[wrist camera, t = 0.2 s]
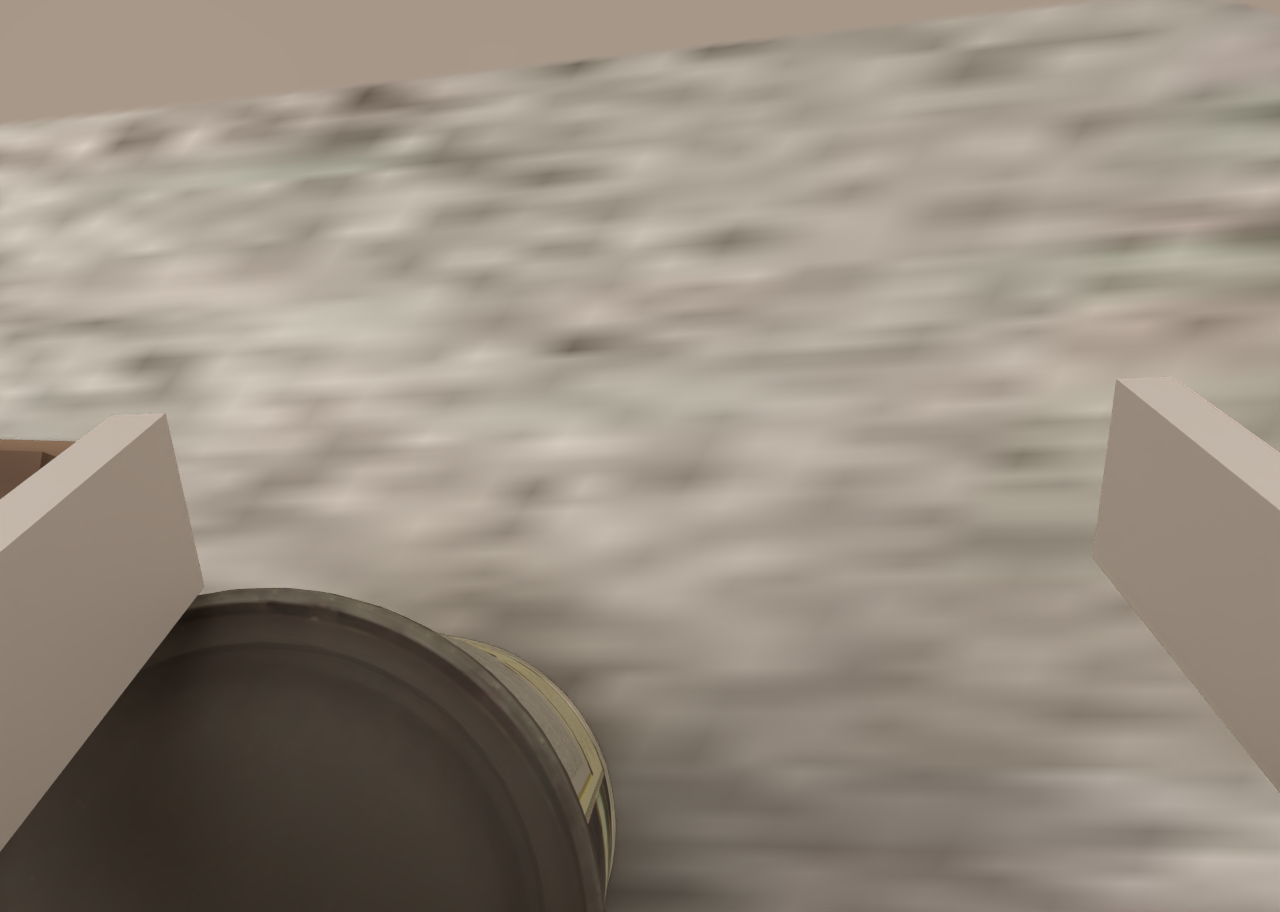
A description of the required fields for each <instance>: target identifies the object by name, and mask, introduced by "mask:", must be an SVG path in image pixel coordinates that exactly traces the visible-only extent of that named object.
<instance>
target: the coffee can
mask: <svg viewBox="0 0 1280 912" xmlns="http://www.w3.org/2000/svg"><path fill="white" fill-rule="evenodd" d="M615 833H616V818H615V808H614V799H613V793H612V787H611V782H610V778H609V774H608V768H607V765H606V762H605V760H604V757H603V754H602V752H601V749H600V747H599V745H598V743H597V741H596V739H595V737H594V735H593V733H592V731H591V730H590V728H589V726H588V724H587V723H586V721H585V719H584V718H583V716H582V715H581V714H580V712H579V711H578V709H577V708H576V707H575V706H574V704H573V703H572V702H571V701H570V700H569V698H568V697H567V696H566V695H565V694H564V692H563V691H562V690H560V689H559V688H558V687H557V686H556V685H555V684H554V683H553V682H552V681H551V680H550V679H549V678H547V677H546V676H545V675H544V674H542V673H541V672H540V671H539V670H537V669H536V668H534V667H533V666H531V665H530V664H528V663H527V662H525V661H524V660H522V659H521V658H519V657H517V656H516V655H514V654H512V653H509V652H507V651H505V650H503V649H500V648H497V647H494V646H491V645H488V644H485V643H482V642H478V641H474V640H470V639H465V638H459V637H450V636H447V635H444V634H440V633H436V632H434V631H432V630H431V629H429V628H427V627H425V626H423V625H421V624H419V623H417V622H415V621H412V620H410V619H408V618H406V617H404V616H402V615H399V614H397V613H395V612H392V611H390V610H388V609H385V608H382V607H380V606H376V605H372V604H369V603H365V602H362V601H358V600H355V599H351V598H347V597H344V596H340V595H336V594H331V593H325V592H319V591H310V590H301V589H292V588H255V589H236V590H227V591H222V592H216V593H210V594H203V595H198V596H197V597H196V598H195V599H194V601H193V602H192V603H191V605H190V606H189V607H188V608H187V610H186V611H185V612H184V614H183V615H182V616H181V618H180V619H179V620H178V621H177V623H176V624H175V625H174V627H173V628H172V629H171V630H170V632H169V633H168V634H167V636H166V637H165V638H164V640H163V641H162V642H161V643H160V645H159V646H158V647H157V649H156V650H155V651H154V653H153V654H152V655H151V656H150V658H149V659H148V660H147V662H146V663H145V664H144V666H143V667H142V668H141V669H140V671H139V672H138V673H137V675H136V676H135V677H134V679H133V680H132V681H131V682H130V684H129V685H128V686H127V688H126V689H125V690H124V692H123V693H122V694H121V695H120V697H119V698H118V699H117V701H116V702H115V703H114V705H113V706H112V707H111V708H110V710H109V711H108V712H107V714H106V715H105V716H104V718H103V719H102V720H101V721H100V723H99V724H98V725H97V727H96V728H95V729H94V730H93V732H92V733H91V734H90V736H89V737H88V738H87V740H86V741H85V742H84V743H83V745H82V746H81V747H80V749H79V750H78V751H77V753H76V754H75V755H74V756H73V758H72V759H71V760H70V762H69V763H68V764H67V766H66V767H65V768H64V769H63V771H62V772H61V773H60V775H59V776H58V777H57V779H56V780H55V781H54V782H53V784H52V785H51V786H50V788H49V789H48V790H47V792H46V793H45V794H44V795H43V797H42V798H41V799H40V801H39V802H38V803H37V805H36V806H35V807H34V808H33V810H32V811H31V812H30V814H29V815H28V816H27V818H26V819H25V820H24V821H23V823H22V824H21V825H20V827H19V828H18V829H17V830H16V832H15V833H14V834H13V836H12V837H11V838H10V840H9V841H8V842H7V843H6V845H5V846H4V847H3V849H2V850H1V851H0V912H605V907H604V905H605V898H606V891H607V886H608V882H609V878H610V874H611V870H612V865H613V856H614V849H615Z"/></svg>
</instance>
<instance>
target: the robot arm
mask: <svg viewBox="0 0 1280 912" xmlns="http://www.w3.org/2000/svg"><path fill="white" fill-rule="evenodd" d="M1093 559H1094V561H1095V562H1096V563H1097V564H1098V566H1099V567H1100V568H1101V569H1102V571H1103V572H1104V573H1105V575H1106V576H1107V577H1108V578H1109V580H1110V581H1111V582H1112V583H1113V585H1114V586H1115V587H1116V588H1117V590H1118V591H1119V592H1120V593H1121V595H1122V596H1123V597H1124V598H1125V600H1126V601H1127V602H1128V603H1129V605H1130V606H1131V607H1132V608H1133V610H1134V611H1135V612H1136V613H1137V615H1138V616H1139V617H1140V618H1141V620H1142V621H1143V622H1144V623H1145V625H1146V626H1147V627H1148V628H1149V630H1150V631H1151V632H1152V633H1153V635H1154V636H1155V637H1156V638H1157V640H1158V641H1159V642H1160V643H1161V645H1162V646H1163V647H1164V649H1165V650H1166V651H1167V652H1168V654H1169V655H1170V656H1171V657H1172V659H1173V660H1174V661H1175V662H1176V664H1177V665H1178V666H1179V667H1180V669H1181V670H1182V671H1183V672H1184V674H1185V675H1186V676H1187V677H1188V679H1189V680H1190V681H1191V682H1192V684H1193V685H1194V686H1195V687H1196V689H1197V690H1198V691H1199V692H1200V694H1201V695H1202V696H1203V697H1204V699H1205V700H1206V701H1207V702H1208V704H1209V705H1210V706H1211V707H1212V709H1213V710H1214V711H1215V712H1216V714H1217V715H1218V716H1219V717H1220V719H1221V720H1222V721H1223V723H1224V724H1225V725H1226V726H1227V728H1228V729H1229V730H1230V731H1231V733H1232V734H1233V735H1234V736H1235V738H1236V739H1237V740H1238V741H1239V743H1240V744H1241V745H1242V746H1243V748H1244V749H1245V750H1246V751H1247V753H1248V754H1249V755H1250V756H1251V758H1252V759H1253V760H1254V761H1255V763H1256V764H1257V765H1258V766H1259V768H1260V769H1261V770H1262V771H1263V773H1264V774H1265V775H1266V776H1267V778H1268V779H1269V780H1270V781H1271V783H1272V784H1273V785H1274V786H1275V788H1276V789H1277V790H1278V791H1279V793H1280V453H1279V452H1278V451H1277V450H1275V449H1274V448H1272V447H1271V446H1270V445H1268V444H1267V443H1265V442H1264V441H1263V440H1261V439H1260V438H1258V437H1257V436H1256V435H1254V434H1253V433H1251V432H1250V431H1249V430H1247V429H1246V428H1244V427H1243V426H1242V425H1240V424H1239V423H1237V422H1236V421H1235V420H1233V419H1232V418H1230V417H1229V416H1227V415H1226V414H1225V413H1223V412H1222V411H1220V410H1219V409H1218V408H1216V407H1215V406H1213V405H1212V404H1211V403H1209V402H1208V401H1206V400H1205V399H1204V398H1202V397H1201V396H1199V395H1198V394H1197V393H1195V392H1194V391H1192V390H1191V389H1190V388H1188V387H1187V386H1185V385H1184V384H1183V383H1181V382H1180V381H1178V380H1177V379H1176V378H1174V377H1157V378H1129V379H1116V386H1115V394H1114V401H1113V409H1112V416H1111V424H1110V431H1109V438H1108V446H1107V453H1106V461H1105V468H1104V476H1103V483H1102V491H1101V498H1100V506H1099V513H1098V521H1097V528H1096V535H1095V543H1094V550H1093ZM203 588H204V583H203V578H202V574H201V569H200V565H199V560H198V556H197V551H196V547H195V543H194V538H193V534H192V529H191V525H190V520H189V516H188V511H187V507H186V502H185V498H184V493H183V489H182V484H181V480H180V476H179V471H178V467H177V462H176V458H175V453H174V449H173V444H172V440H171V435H170V431H169V426H168V422H167V417H166V413H159V414H131V415H111V416H110V417H108V418H107V419H106V420H104V421H103V422H102V423H100V424H99V425H98V426H96V427H95V428H94V429H93V430H91V431H90V432H89V433H87V434H86V435H85V436H83V437H82V438H81V439H79V440H78V441H77V442H75V443H74V444H73V445H71V446H70V447H69V448H67V449H66V450H65V451H64V452H62V453H61V454H60V455H58V456H57V457H56V458H54V459H53V460H52V461H50V462H49V463H48V464H46V465H45V466H44V467H42V468H41V469H40V470H38V471H37V472H36V473H34V474H33V475H32V476H31V477H29V478H28V479H27V480H25V481H24V482H23V483H21V484H20V485H19V486H17V487H16V488H15V489H13V490H12V491H11V492H9V493H8V494H7V495H5V496H4V497H3V498H2V499H0V851H1V850H2V849H3V847H4V846H5V845H6V843H7V842H8V841H9V840H10V838H11V837H12V836H13V834H14V833H15V832H16V830H17V829H18V828H19V827H20V825H21V824H22V823H23V821H24V820H25V819H26V818H27V816H28V815H29V814H30V812H31V811H32V810H33V808H34V807H35V806H36V805H37V803H38V802H39V801H40V799H41V798H42V797H43V795H44V794H45V793H46V792H47V790H48V789H49V788H50V786H51V785H52V784H53V782H54V781H55V780H56V779H57V777H58V776H59V775H60V773H61V772H62V771H63V769H64V768H65V767H66V766H67V764H68V763H69V762H70V760H71V759H72V758H73V756H74V755H75V754H76V753H77V751H78V750H79V749H80V747H81V746H82V745H83V743H84V742H85V741H86V740H87V738H88V737H89V736H90V734H91V733H92V732H93V730H94V729H95V728H96V727H97V725H98V724H99V723H100V721H101V720H102V719H103V718H104V716H105V715H106V714H107V712H108V711H109V710H110V708H111V707H112V706H113V705H114V703H115V702H116V701H117V699H118V698H119V697H120V695H121V694H122V693H123V692H124V690H125V689H126V688H127V686H128V685H129V684H130V682H131V681H132V680H133V679H134V677H135V676H136V675H137V673H138V672H139V671H140V669H141V668H142V667H143V666H144V664H145V663H146V662H147V660H148V659H149V658H150V656H151V655H152V654H153V653H154V651H155V650H156V649H157V647H158V646H159V645H160V643H161V642H162V641H163V640H164V638H165V637H166V636H167V634H168V633H169V632H170V630H171V629H172V628H173V627H174V625H175V624H176V623H177V621H178V620H179V619H180V618H181V616H182V615H183V614H184V612H185V611H186V610H187V608H188V607H189V606H190V605H191V603H192V602H193V601H194V599H195V598H196V597H197V595H198V594H199V593H200V592H201V590H202V589H203Z"/></svg>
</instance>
